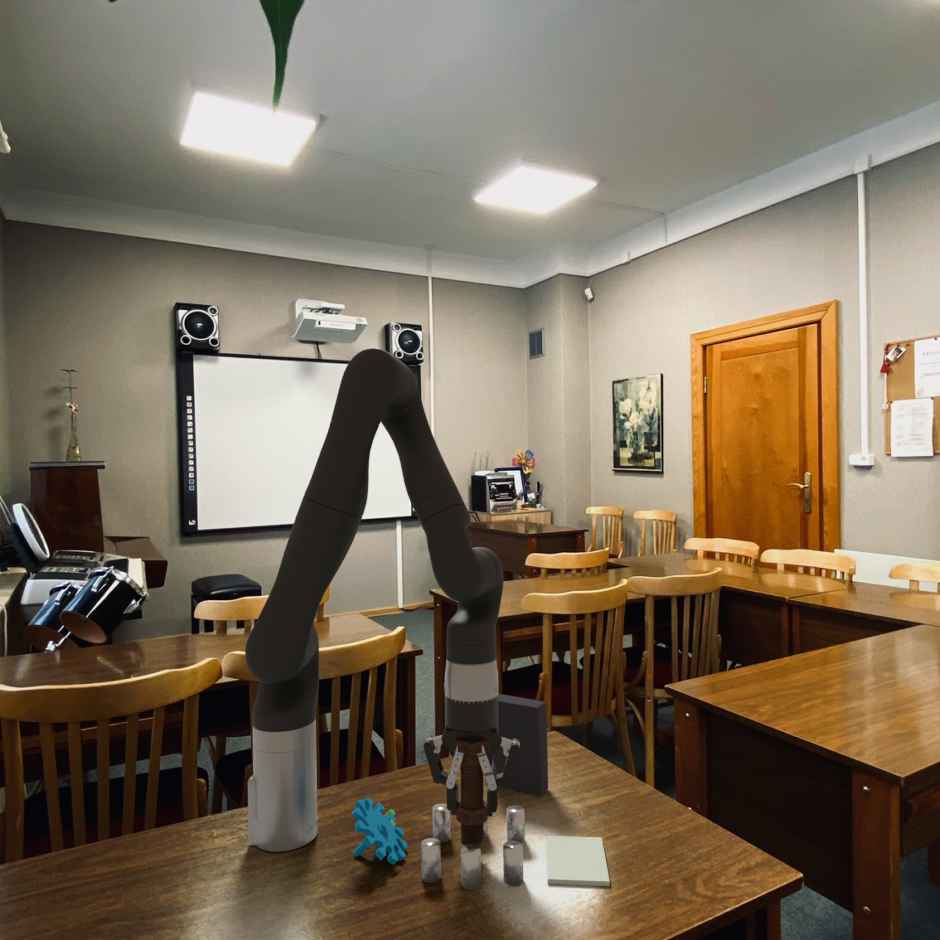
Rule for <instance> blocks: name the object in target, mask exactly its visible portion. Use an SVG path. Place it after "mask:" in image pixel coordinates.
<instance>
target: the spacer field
mask: <svg viewBox="0 0 940 940" xmlns="http://www.w3.org/2000/svg"><path fill="white" fill-rule="evenodd" d="M488 821H489V820H487V821H486V822H484V824H483V828H484V829H483V830H484V832H483V833H484V834H483V836H484V840H485V839H487V838H488V837H489V825H488V824H489V822H488ZM525 826H526V825H525V808H524V807H523V806H520V805H510V806H508V807H506V841H505V842H504V843H503V844H502V855H503V856H502V858H503V859H502V860H503V866H502V867H503V868H502V869H503V882H504V884H506V885H507V886H511V887H517V886H520V885H522V884H523V883H524V857H523V856H524V851H523V850H524V849H523V848H524V846H523V844H525V842H526V837H525V835H526V834H525V833H526V832H525V831H526V830H525ZM450 840H451V810H448V808H447V803H437V804H434V805H433V806H432V837H430V838H429V837H428V838H425V839H423V840H422V841H421V842H420V855H421V856H420V857H421V858H420V859H421V861H420V863H421V880H422V881H423V882H425V883H428V884H429V883H430V884H432V883H437V882H438V881H440V880H441V879H442V867H441V866H442V862H441V861H442V858H441V856H442V855H441V852H442V851H441V844H443V843H446V842H449V841H450ZM481 855H482V852H481V847H480V846H478V845H475V844H467V845H463V846H461V848H460V876H461V877H460V878H461V879H460V880H461V881H460V882H461V886H462V888H463V889H465V890H469V891H470V890H471V891H473V890H477V889H479V888H480V887H481V886H482V865H481V863H482V862H481V861H482V858H481Z"/></svg>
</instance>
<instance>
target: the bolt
mask: <svg viewBox="0 0 940 940" xmlns="http://www.w3.org/2000/svg"><path fill="white" fill-rule="evenodd" d="M457 745H458V752H459V753H464V755H463V759H462V762H463V763H462V765H464V766H460V800H458V803H457V809H456V815H455V816H456V818H455V819H456V821H458V823H460V843H461V845H463V846H464V845H467V844H475V845H478V846H479V847H480V846H481V845H482V844H483V843H484V840H485V839H484V836H483V834H484V833H483V832H484V830H483V829H484V828H483V824H484V822H486V821H487V820H488V819H489V817H488V816H487V801H486V800H485V799H484V774H483V771H482V768H481V766H479V765H480V761H479V758H478V756H477V754H480V753H482V745H483V746H484V749H485V751H486V752H489V751H490V742H489V741H487V740H477V739H454V742H453V751H455V752H456V748H457ZM488 821H489V820H488Z"/></svg>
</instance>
